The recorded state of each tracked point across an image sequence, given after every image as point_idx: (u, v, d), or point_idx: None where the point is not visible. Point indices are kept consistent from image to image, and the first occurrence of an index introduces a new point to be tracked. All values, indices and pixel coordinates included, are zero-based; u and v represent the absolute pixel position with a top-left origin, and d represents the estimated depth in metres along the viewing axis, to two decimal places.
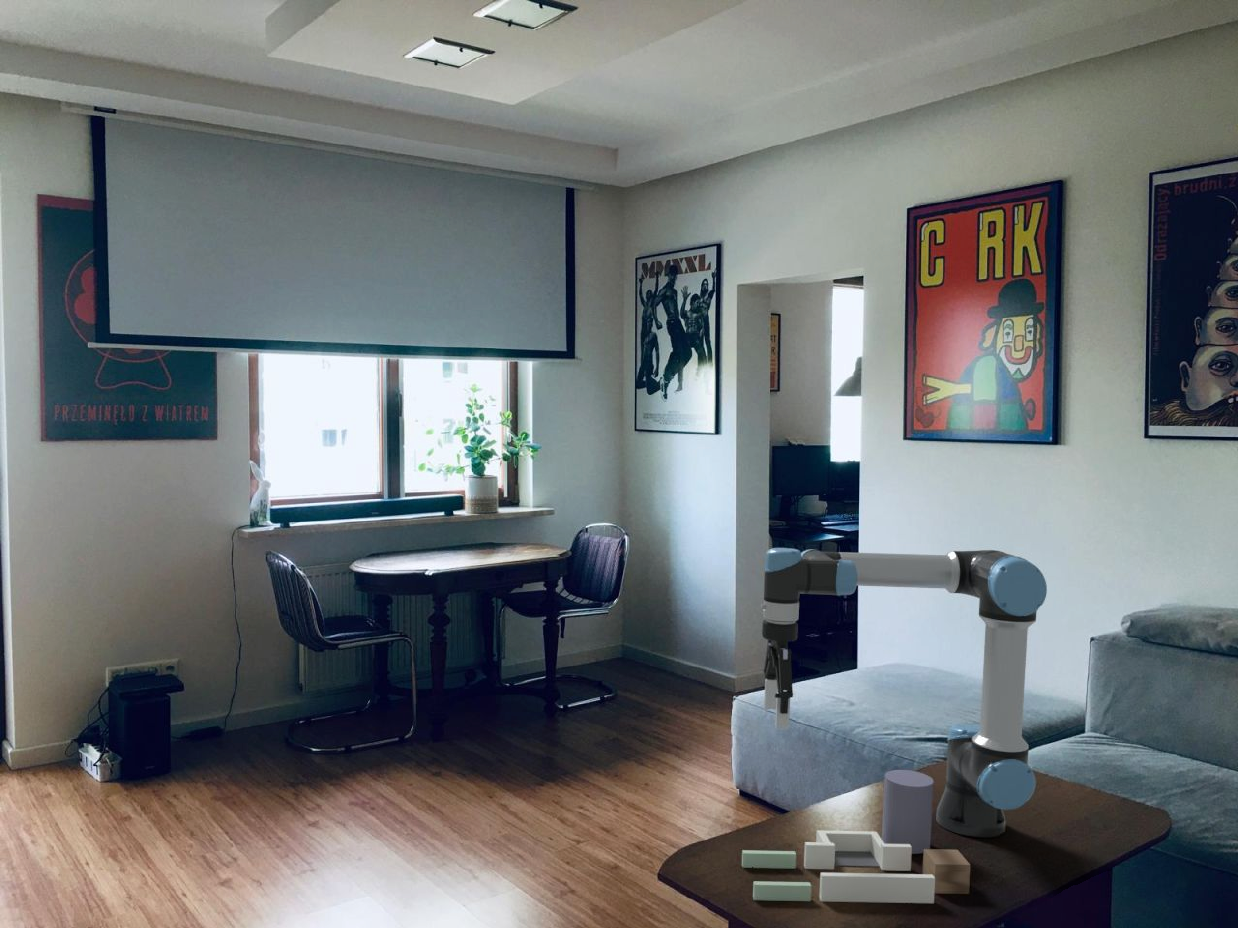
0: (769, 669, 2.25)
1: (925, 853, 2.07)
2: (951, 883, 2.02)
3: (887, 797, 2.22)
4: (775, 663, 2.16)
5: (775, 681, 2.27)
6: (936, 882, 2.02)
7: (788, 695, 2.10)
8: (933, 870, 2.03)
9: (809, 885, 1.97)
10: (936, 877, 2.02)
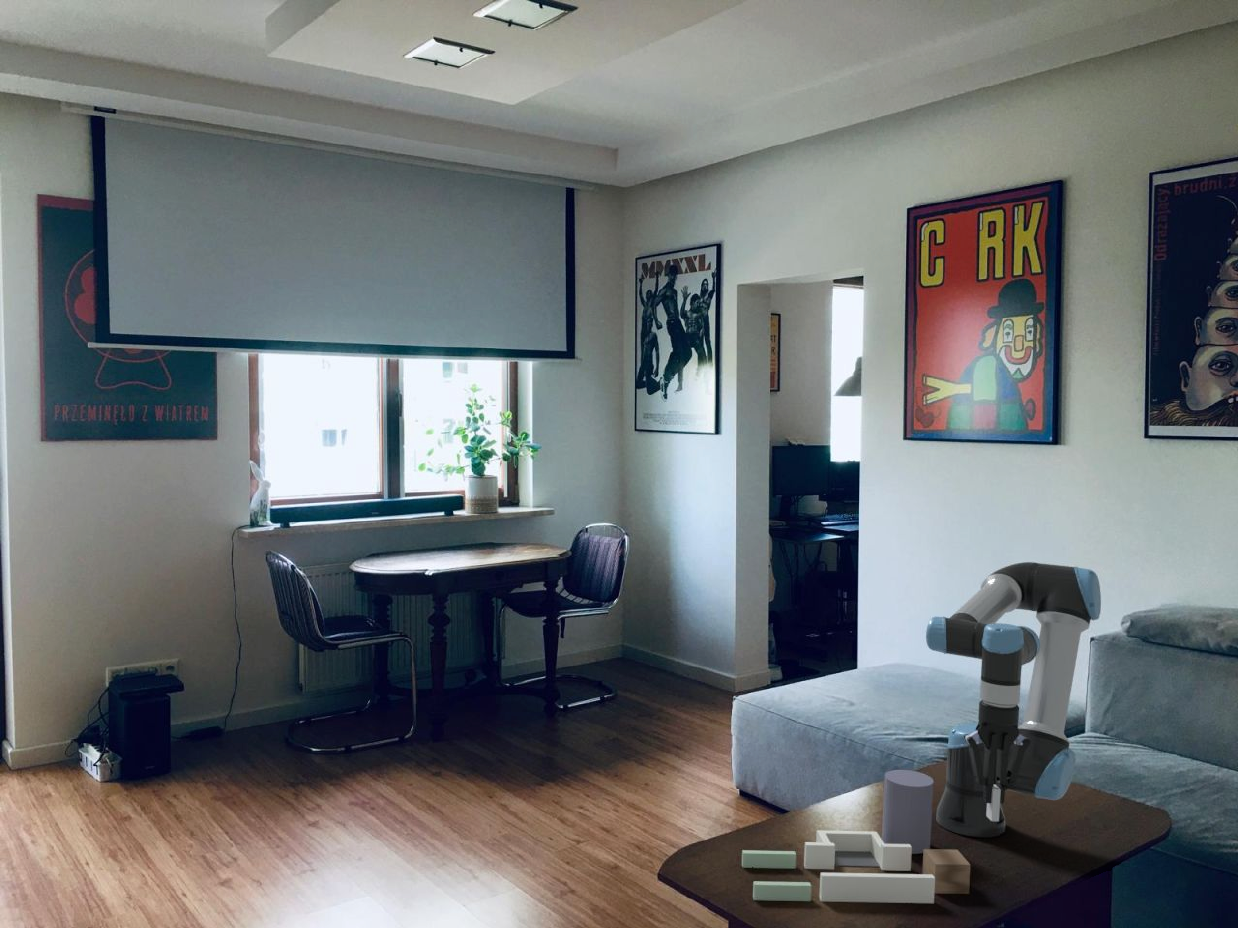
0: (996, 766, 2.05)
1: (925, 853, 2.07)
2: (951, 883, 2.02)
3: (887, 797, 2.22)
4: (984, 747, 2.06)
5: None
6: (936, 882, 2.02)
7: (977, 780, 2.04)
8: (933, 870, 2.03)
9: (809, 885, 1.97)
10: (936, 877, 2.02)
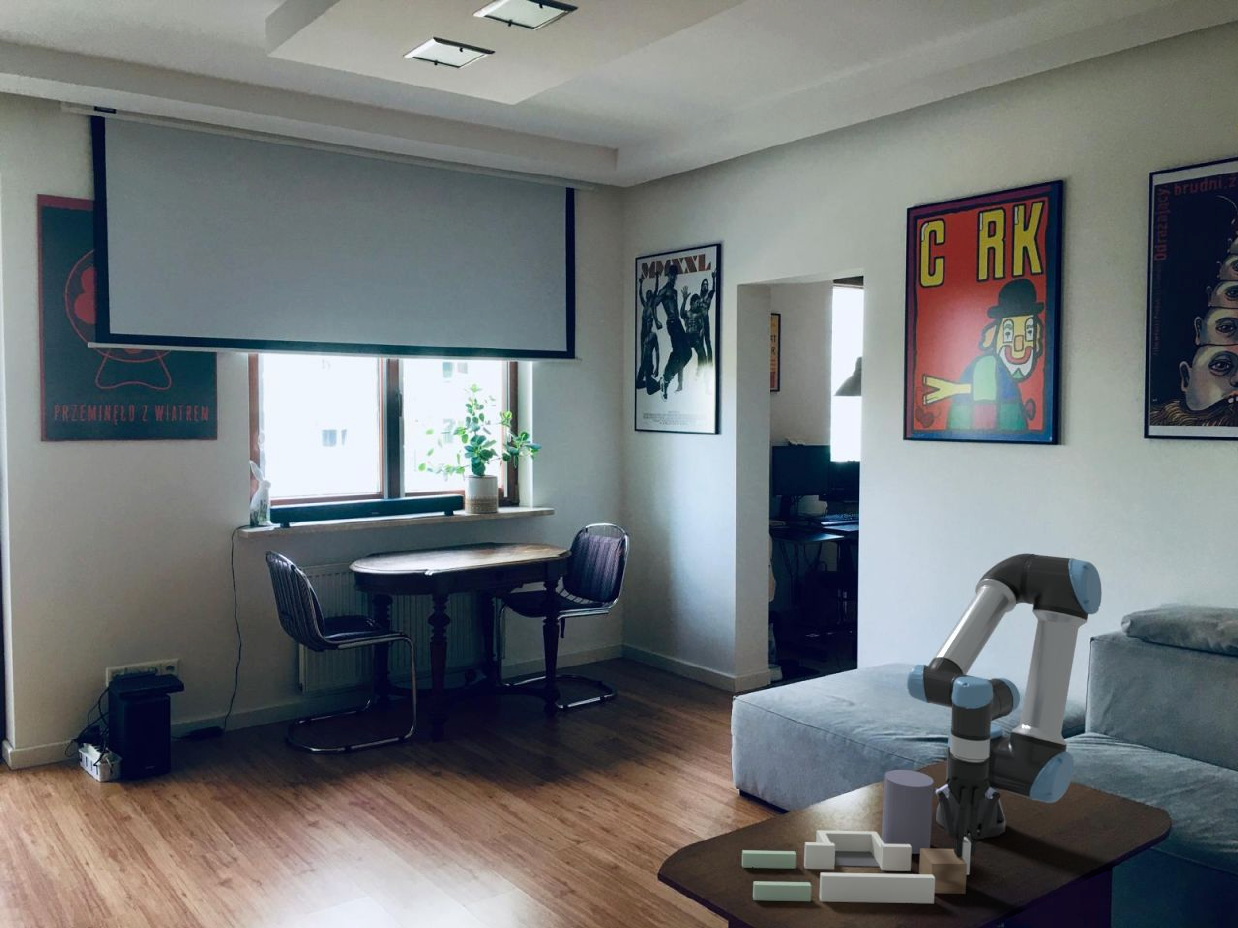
0: (967, 819, 2.06)
1: (921, 852, 2.07)
2: (948, 883, 2.02)
3: (887, 797, 2.22)
4: (955, 800, 2.06)
5: None
6: None
7: (947, 834, 2.05)
8: (929, 869, 2.03)
9: (809, 885, 1.97)
10: None
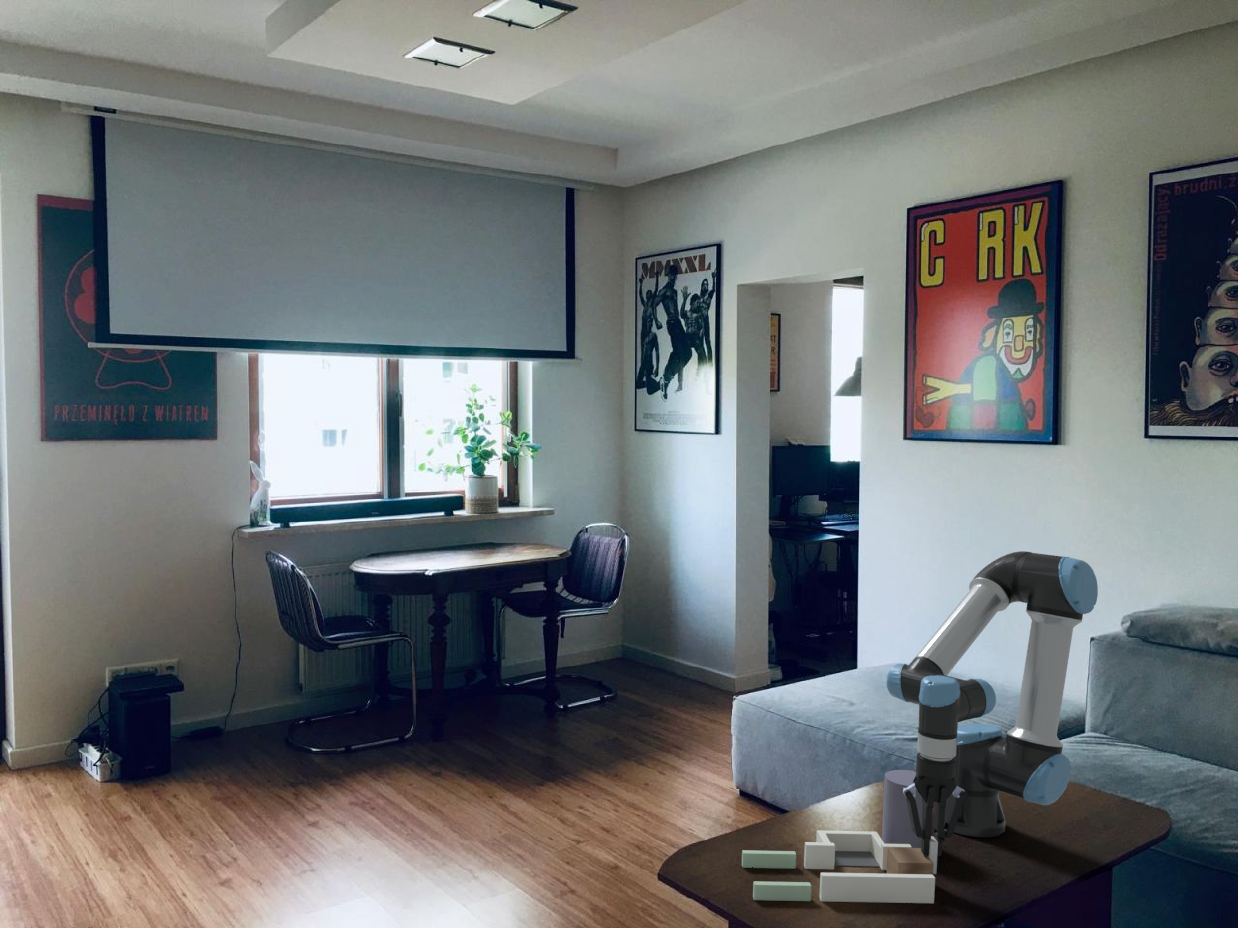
0: (934, 818, 2.06)
1: (889, 852, 2.07)
2: None
3: (887, 797, 2.22)
4: (922, 799, 2.06)
5: None
6: None
7: (914, 833, 2.04)
8: (896, 868, 2.02)
9: (809, 885, 1.97)
10: None
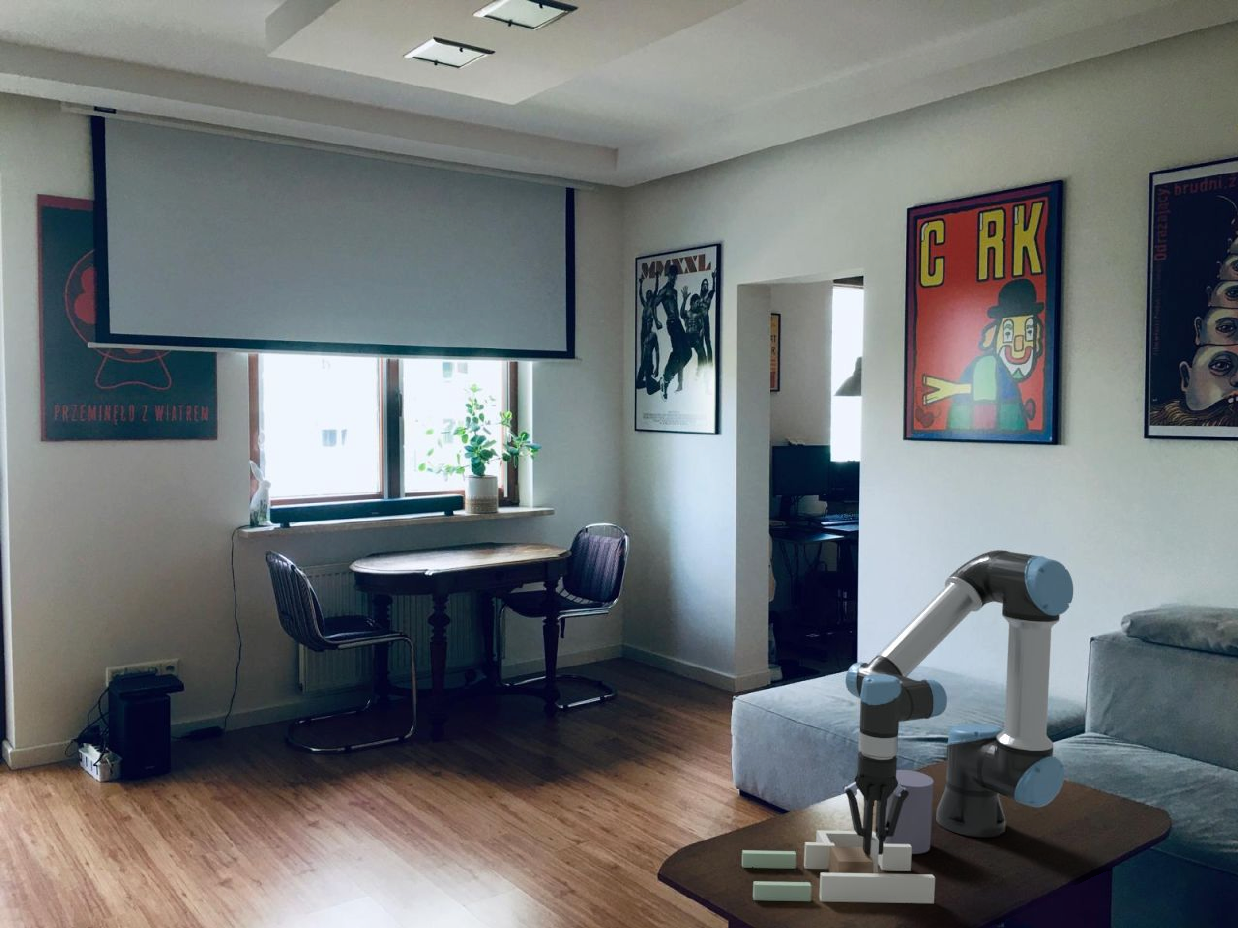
0: (876, 816, 2.05)
1: (831, 850, 2.07)
2: None
3: None
4: (864, 797, 2.05)
5: None
6: None
7: (856, 831, 2.04)
8: (836, 867, 2.02)
9: (809, 885, 1.97)
10: None
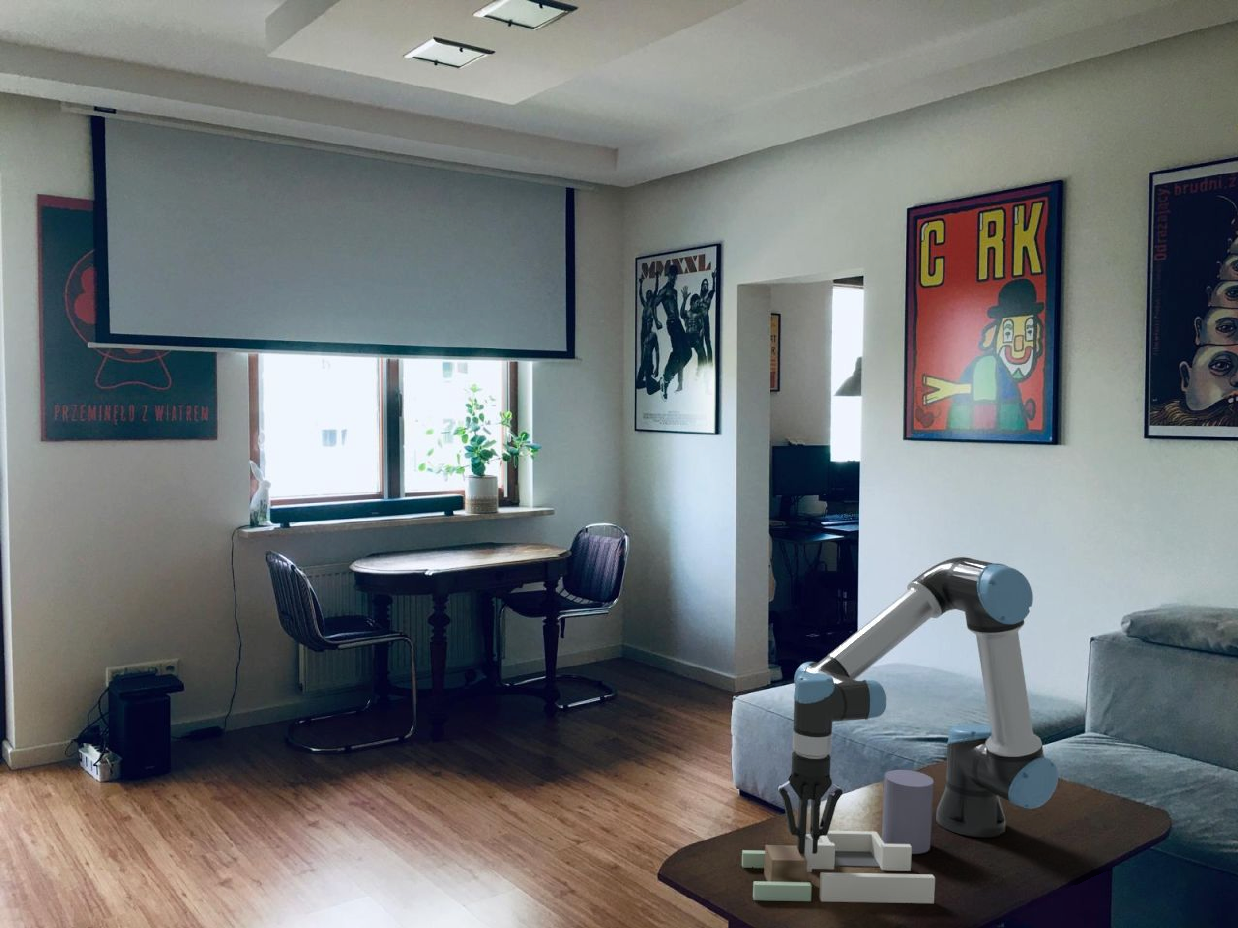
0: None
1: (766, 849, 2.06)
2: (788, 879, 2.01)
3: (887, 797, 2.22)
4: (798, 796, 2.05)
5: None
6: (773, 878, 2.01)
7: (790, 830, 2.03)
8: (770, 866, 2.02)
9: (809, 885, 1.97)
10: (772, 873, 2.01)
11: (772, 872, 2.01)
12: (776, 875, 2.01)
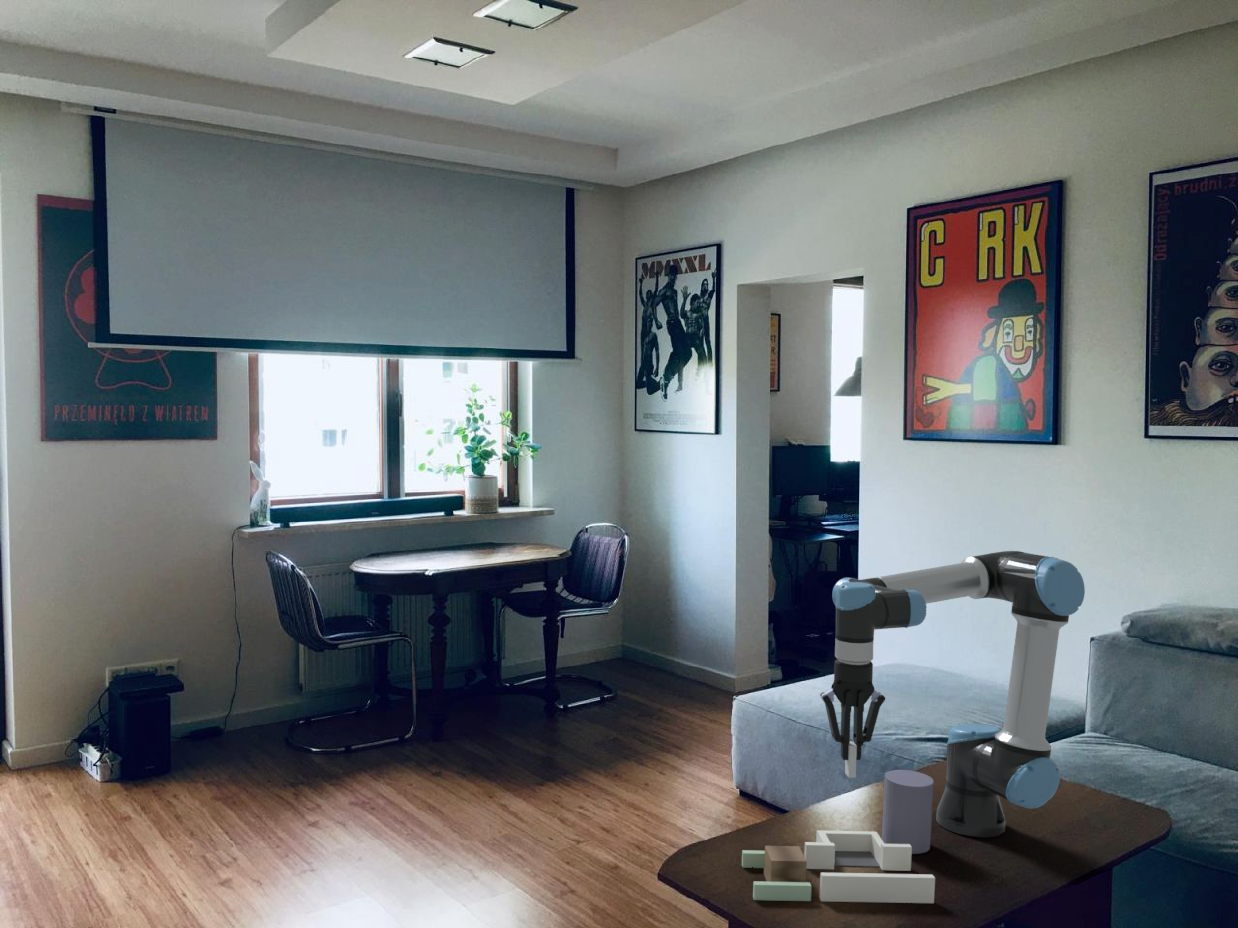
0: None
1: (765, 850, 2.06)
2: (787, 880, 2.01)
3: (887, 797, 2.22)
4: (841, 704, 2.07)
5: None
6: (772, 879, 2.01)
7: None
8: (770, 866, 2.02)
9: (809, 885, 1.97)
10: (772, 874, 2.01)
11: (771, 873, 2.01)
12: (775, 876, 2.01)
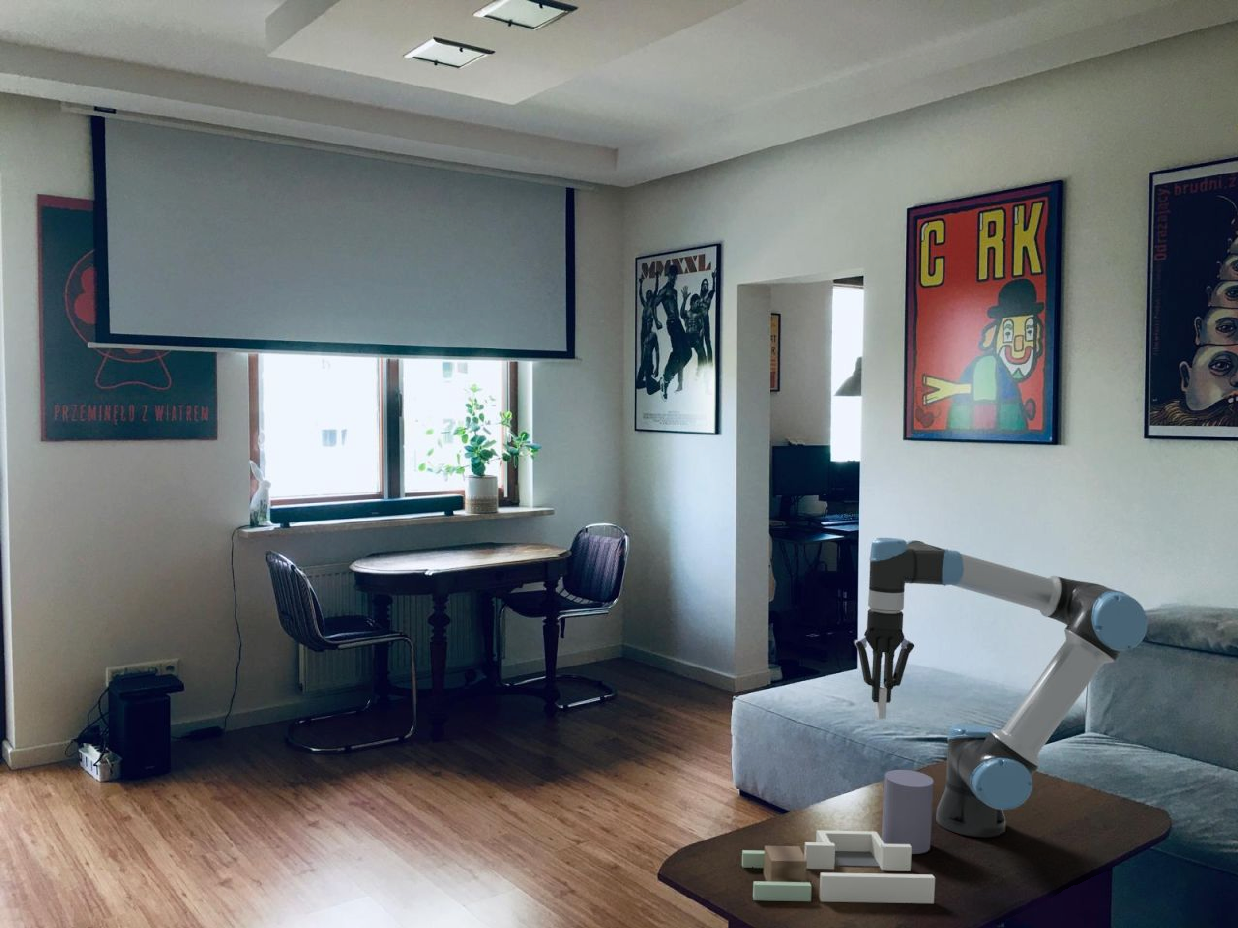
0: (884, 668, 2.23)
1: (765, 850, 2.06)
2: (787, 880, 2.01)
3: (887, 797, 2.22)
4: (873, 651, 2.23)
5: None
6: (772, 879, 2.01)
7: (865, 681, 2.22)
8: (770, 866, 2.02)
9: (809, 885, 1.97)
10: (772, 874, 2.01)
11: (772, 873, 2.01)
12: (776, 876, 2.01)
